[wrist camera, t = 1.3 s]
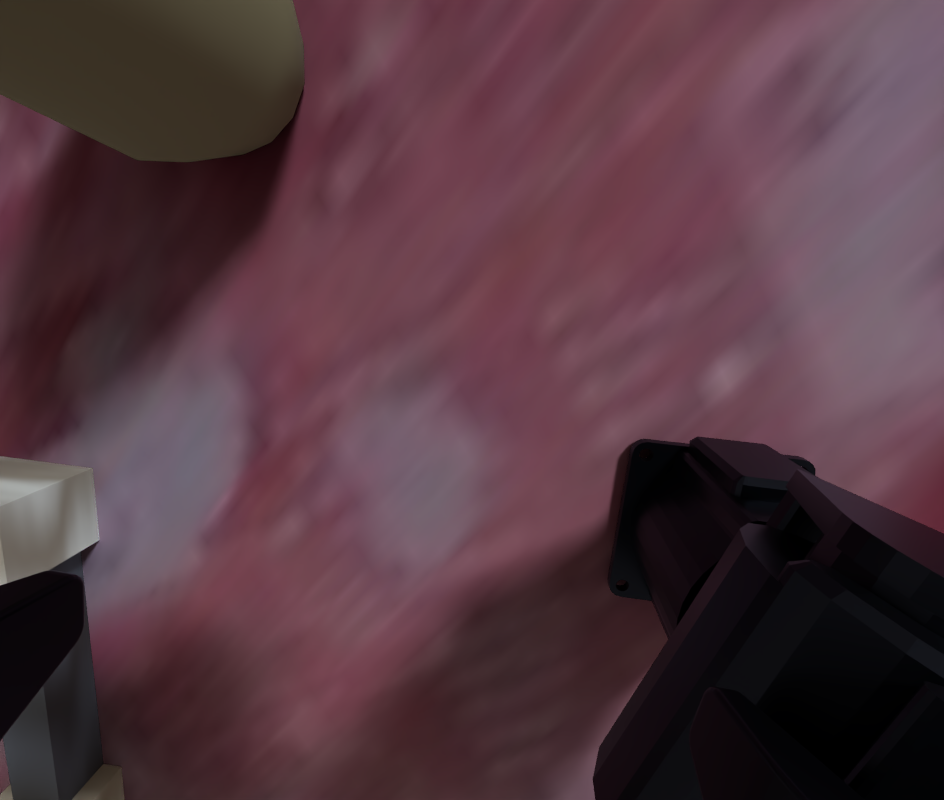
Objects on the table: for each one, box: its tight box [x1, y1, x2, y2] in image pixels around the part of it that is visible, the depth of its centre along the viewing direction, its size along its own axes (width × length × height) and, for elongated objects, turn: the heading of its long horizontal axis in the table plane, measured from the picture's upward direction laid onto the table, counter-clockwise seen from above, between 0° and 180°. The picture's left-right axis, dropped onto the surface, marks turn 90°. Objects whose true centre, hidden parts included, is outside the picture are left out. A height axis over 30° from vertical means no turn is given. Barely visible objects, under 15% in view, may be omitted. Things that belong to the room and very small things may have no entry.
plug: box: [0, 456, 125, 800], centre depth 22 cm, size 22×4×4 cm, turn 175°
